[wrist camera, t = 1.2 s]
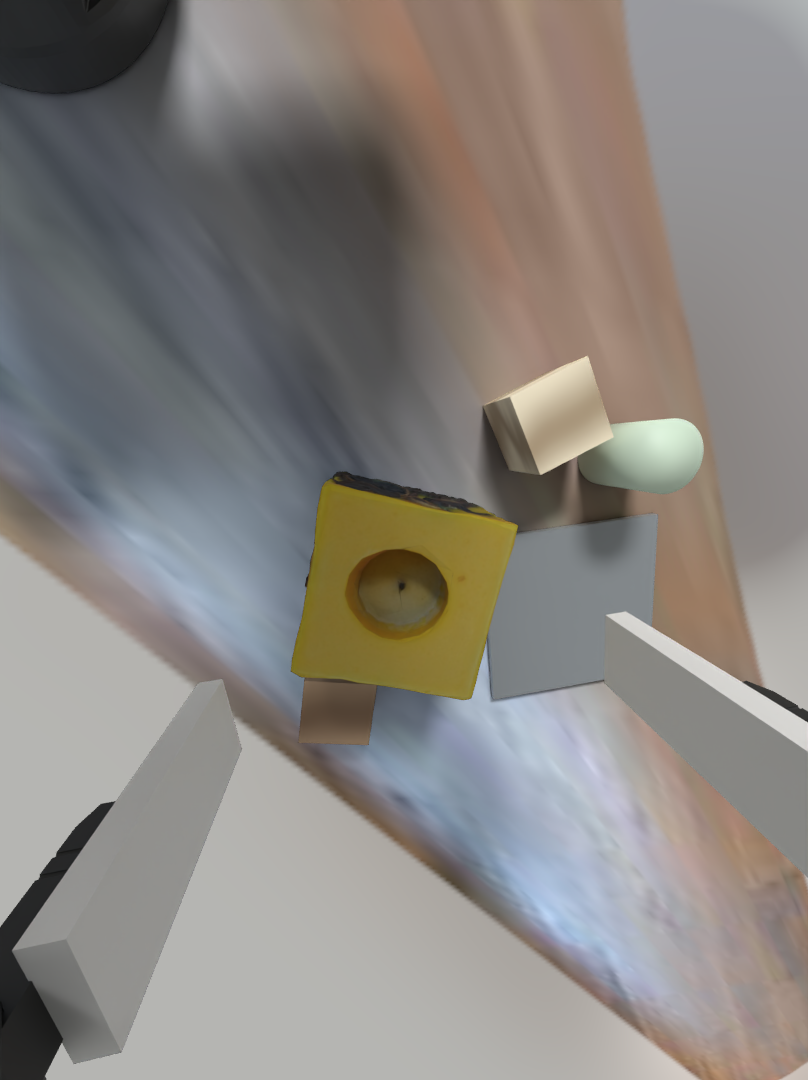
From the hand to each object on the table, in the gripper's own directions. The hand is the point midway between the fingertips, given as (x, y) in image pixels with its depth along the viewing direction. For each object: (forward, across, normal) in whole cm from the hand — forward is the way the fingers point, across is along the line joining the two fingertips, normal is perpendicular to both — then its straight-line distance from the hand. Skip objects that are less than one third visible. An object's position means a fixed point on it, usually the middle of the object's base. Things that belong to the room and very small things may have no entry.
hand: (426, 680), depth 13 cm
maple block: (+16, +11, +8) cm, 21 cm away
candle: (+16, 0, 0) cm, 16 cm away
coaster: (+16, +14, -7) cm, 22 cm away
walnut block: (+16, -5, -10) cm, 20 cm away
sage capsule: (+16, +17, +5) cm, 24 cm away
